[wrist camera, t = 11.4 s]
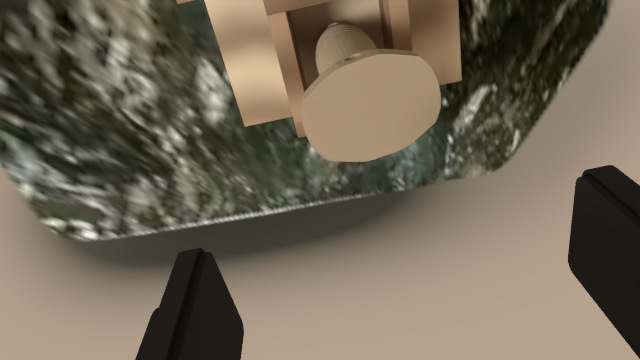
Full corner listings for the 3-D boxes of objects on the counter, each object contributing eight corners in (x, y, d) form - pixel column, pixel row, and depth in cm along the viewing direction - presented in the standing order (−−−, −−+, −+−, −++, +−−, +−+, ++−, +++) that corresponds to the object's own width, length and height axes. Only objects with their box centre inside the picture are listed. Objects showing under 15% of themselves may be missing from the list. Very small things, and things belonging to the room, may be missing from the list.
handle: (387, 57, 34) (450, 132, 21) (310, 86, 35) (323, 177, 22) (369, -6, 32) (426, 34, 19) (287, 27, 32) (286, 88, 19)
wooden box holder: (198, -32, 31) (169, -19, 24) (448, -92, 30) (493, -96, 23) (246, 120, 37) (234, 165, 30) (457, 76, 36) (494, 111, 29)
